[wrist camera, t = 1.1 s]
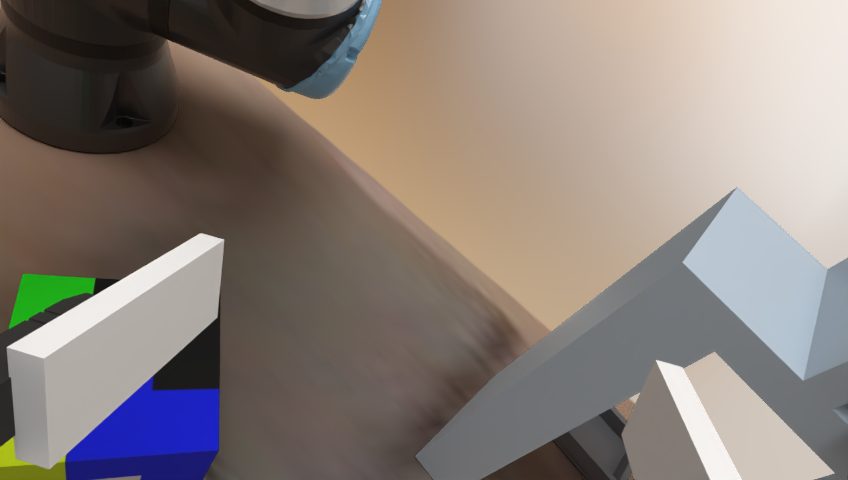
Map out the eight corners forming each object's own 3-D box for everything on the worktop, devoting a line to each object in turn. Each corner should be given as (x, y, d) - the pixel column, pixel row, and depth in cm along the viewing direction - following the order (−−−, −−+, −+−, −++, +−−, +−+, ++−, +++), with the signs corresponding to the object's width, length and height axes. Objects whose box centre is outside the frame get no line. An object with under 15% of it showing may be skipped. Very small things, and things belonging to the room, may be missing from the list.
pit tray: (603, 498, 49) (621, 491, 47) (550, 436, 50) (565, 428, 48) (630, 450, 54) (647, 442, 52) (580, 395, 55) (595, 386, 53)
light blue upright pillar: (612, 705, 38) (1490, 716, 14) (414, 456, 43) (833, 153, 19) (663, 573, 47) (1270, 442, 23) (493, 376, 51) (851, 98, 27)
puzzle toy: (191, 499, 34) (218, 450, 28) (-4, 521, 30) (-28, 469, 23) (196, 356, 40) (220, 286, 33) (33, 355, 35) (22, 273, 28)
